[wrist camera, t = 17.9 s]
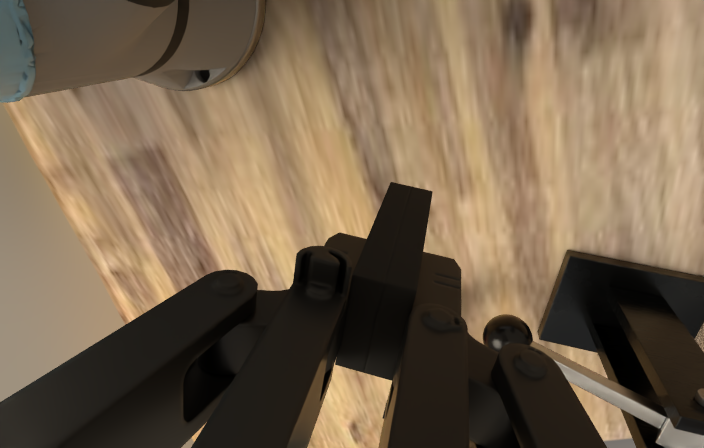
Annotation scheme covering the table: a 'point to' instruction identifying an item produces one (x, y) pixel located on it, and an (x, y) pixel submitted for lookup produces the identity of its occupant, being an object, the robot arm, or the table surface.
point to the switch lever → (593, 383)
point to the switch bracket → (635, 333)
